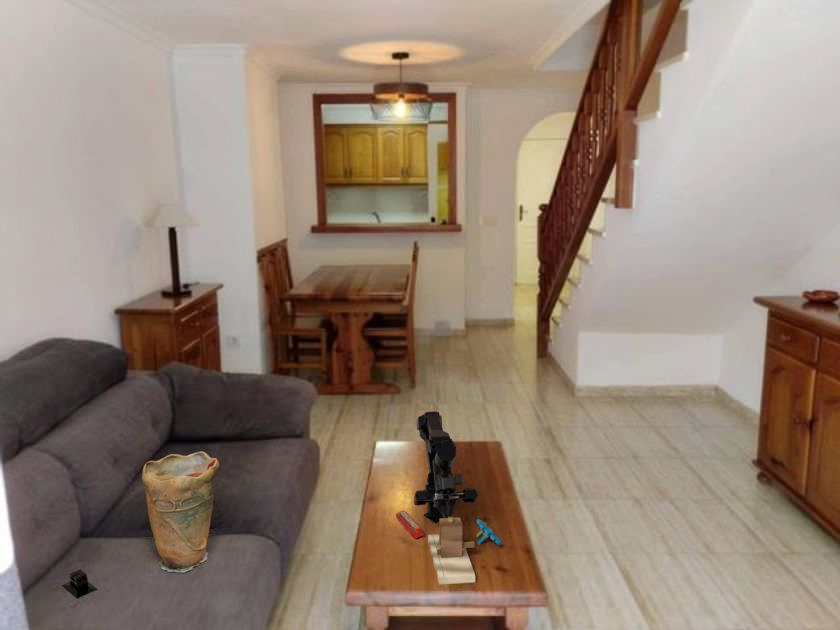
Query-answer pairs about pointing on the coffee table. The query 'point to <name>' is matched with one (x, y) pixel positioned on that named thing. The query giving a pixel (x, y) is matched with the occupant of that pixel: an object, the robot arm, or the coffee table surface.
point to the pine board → (451, 565)
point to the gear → (487, 533)
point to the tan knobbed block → (451, 538)
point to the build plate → (79, 584)
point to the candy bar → (409, 524)
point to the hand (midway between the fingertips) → (448, 525)
